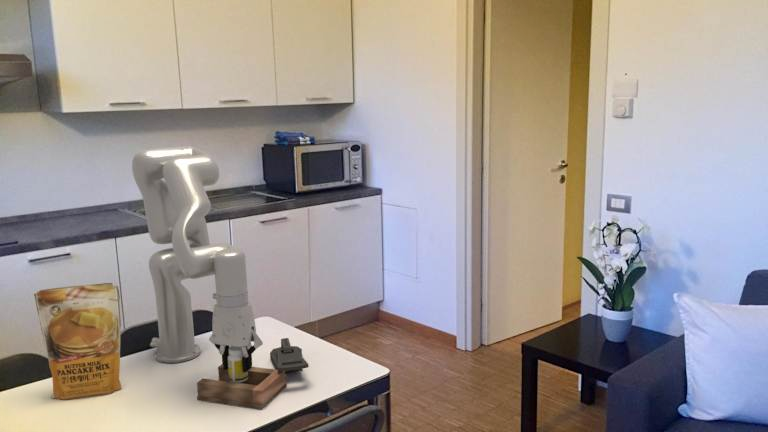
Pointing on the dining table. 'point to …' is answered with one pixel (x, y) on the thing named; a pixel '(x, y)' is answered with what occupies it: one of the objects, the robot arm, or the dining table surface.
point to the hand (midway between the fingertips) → (237, 368)
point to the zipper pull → (288, 358)
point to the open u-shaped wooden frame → (243, 388)
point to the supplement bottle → (236, 365)
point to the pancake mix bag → (81, 338)
